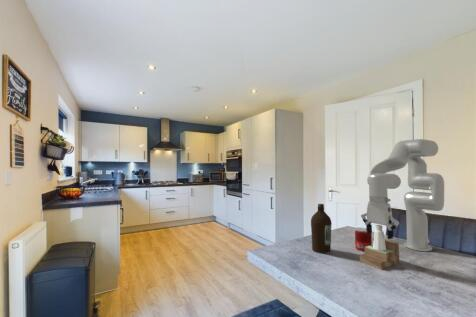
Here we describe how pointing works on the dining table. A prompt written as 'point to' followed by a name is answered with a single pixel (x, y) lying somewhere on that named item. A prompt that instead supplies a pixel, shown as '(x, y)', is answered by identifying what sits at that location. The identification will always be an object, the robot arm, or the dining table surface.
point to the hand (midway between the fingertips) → (379, 235)
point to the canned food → (362, 239)
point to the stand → (381, 255)
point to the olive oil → (321, 231)
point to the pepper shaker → (379, 239)
